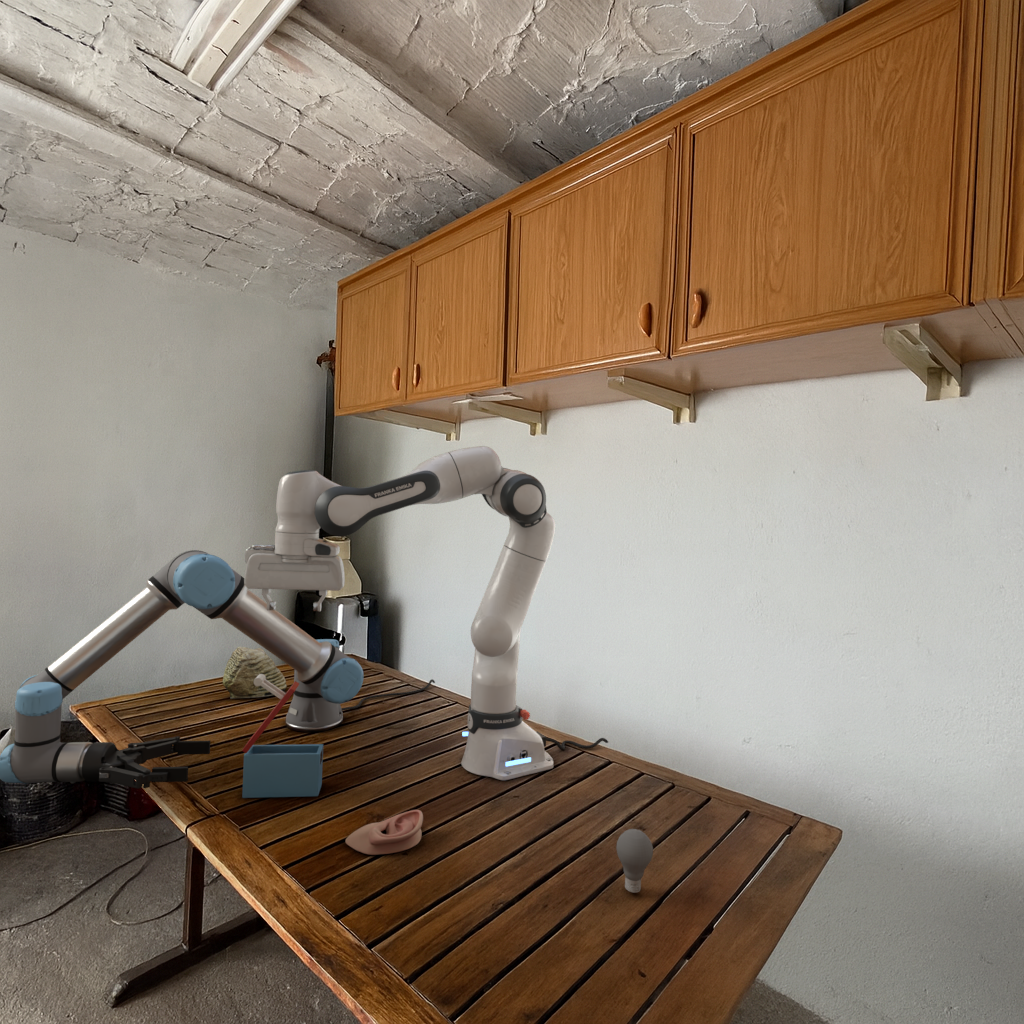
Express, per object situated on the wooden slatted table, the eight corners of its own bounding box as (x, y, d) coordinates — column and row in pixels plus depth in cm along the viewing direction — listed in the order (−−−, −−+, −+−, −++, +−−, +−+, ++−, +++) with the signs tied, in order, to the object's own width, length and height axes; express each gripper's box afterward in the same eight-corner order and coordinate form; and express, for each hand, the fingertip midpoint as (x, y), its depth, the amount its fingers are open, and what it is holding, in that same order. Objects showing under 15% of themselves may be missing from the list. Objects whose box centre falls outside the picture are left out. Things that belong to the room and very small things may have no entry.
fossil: (218, 695, 195) (220, 647, 195) (278, 685, 208) (279, 640, 207) (228, 703, 189) (230, 653, 188) (289, 692, 201) (290, 645, 201)
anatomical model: (338, 827, 114) (365, 799, 125) (337, 849, 114) (364, 818, 125) (408, 839, 111) (429, 808, 122) (407, 861, 111) (428, 828, 122)
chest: (321, 784, 139) (323, 744, 139) (317, 796, 134) (319, 753, 134) (249, 786, 137) (250, 744, 137) (242, 798, 132) (243, 754, 132)
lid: (299, 683, 138) (268, 662, 137) (294, 691, 133) (262, 668, 132) (252, 743, 137) (221, 722, 136) (246, 753, 132) (213, 731, 131)
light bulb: (610, 879, 108) (613, 822, 108) (644, 879, 109) (647, 822, 109) (619, 902, 102) (622, 840, 102) (655, 901, 103) (658, 840, 103)
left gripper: (117, 755, 142) (217, 753, 145) (53, 809, 117) (175, 806, 121) (118, 722, 142) (218, 721, 145) (55, 769, 117) (177, 767, 120)
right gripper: (241, 545, 130) (238, 612, 130) (343, 548, 133) (341, 614, 133) (249, 542, 136) (247, 606, 137) (347, 546, 139) (344, 608, 140)
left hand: (199, 760), depth 133 cm, fingers open, 13 cm apart
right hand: (294, 610), depth 135 cm, fingers open, 8 cm apart
